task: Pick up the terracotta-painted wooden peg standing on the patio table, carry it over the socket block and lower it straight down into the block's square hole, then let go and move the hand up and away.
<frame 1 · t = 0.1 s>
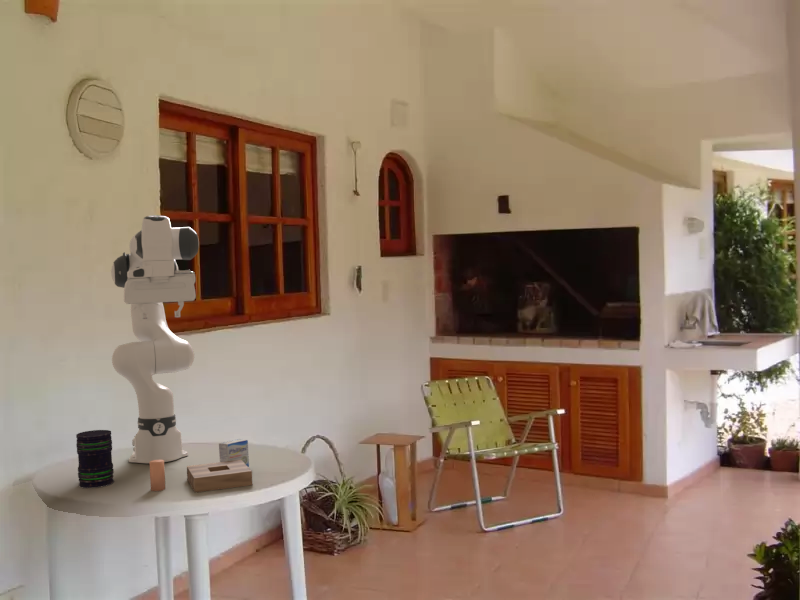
hand: (161, 318, 246), 48 cm above the table, fingers open, 8 cm apart
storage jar: (96, 484, 247), on the table
socket block: (219, 482, 243), on the table
medicine box: (234, 469, 259), on the table
peg: (158, 489, 238), on the table
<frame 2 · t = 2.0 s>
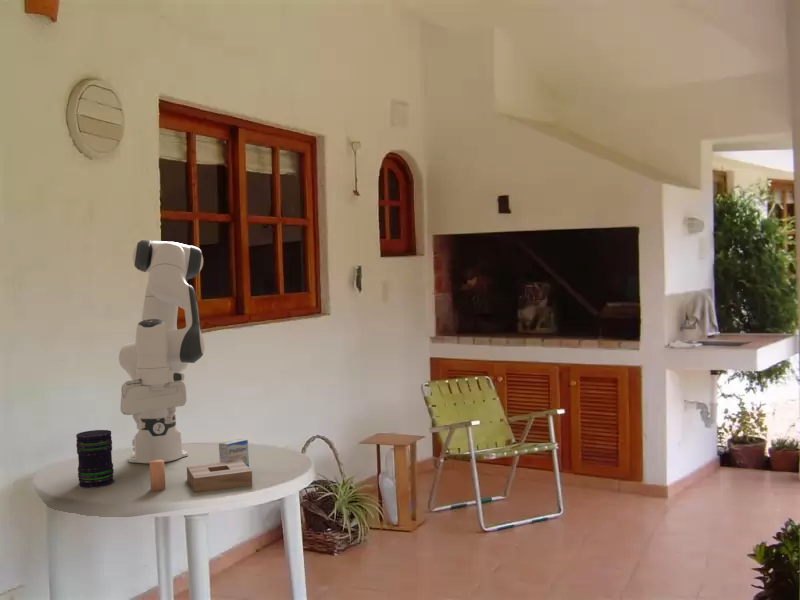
hand: (155, 426, 237), 18 cm above the table, fingers open, 8 cm apart
nothing on the table moved.
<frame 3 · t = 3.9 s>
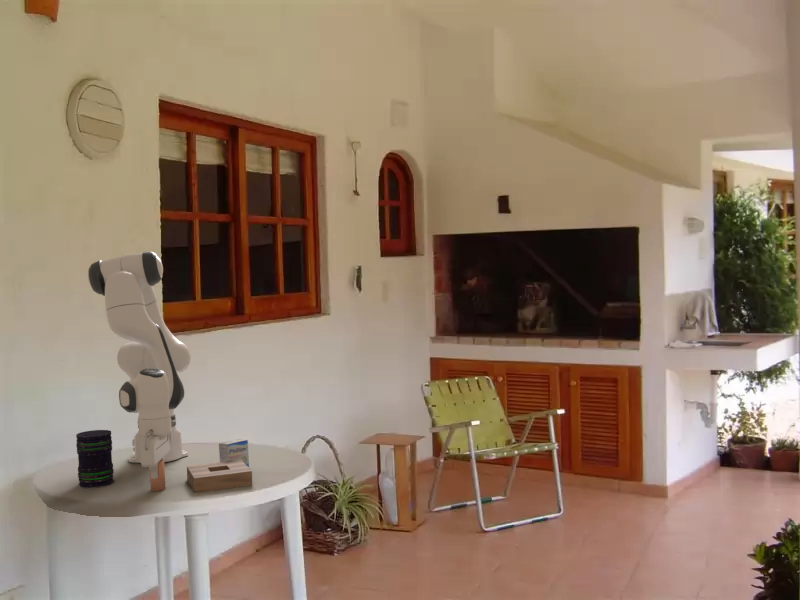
hand: (157, 475, 238), 4 cm above the table, fingers closed on peg, 4 cm apart
peg: (158, 489, 238), on the table, touching gripper
everything else where it was.
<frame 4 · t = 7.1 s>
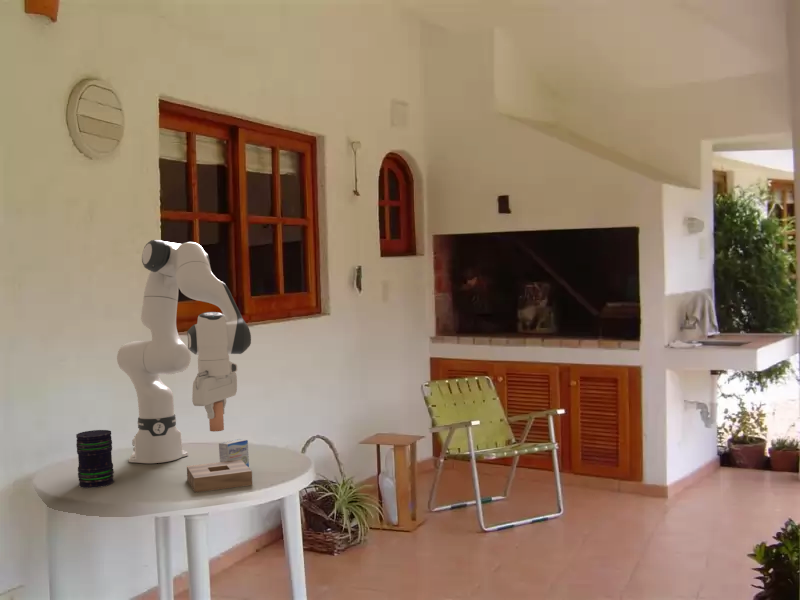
hand: (216, 416, 242), 19 cm above the table, fingers closed on peg, 4 cm apart
peg: (216, 430, 242), point 15 cm above the table, touching gripper
everything else where it was.
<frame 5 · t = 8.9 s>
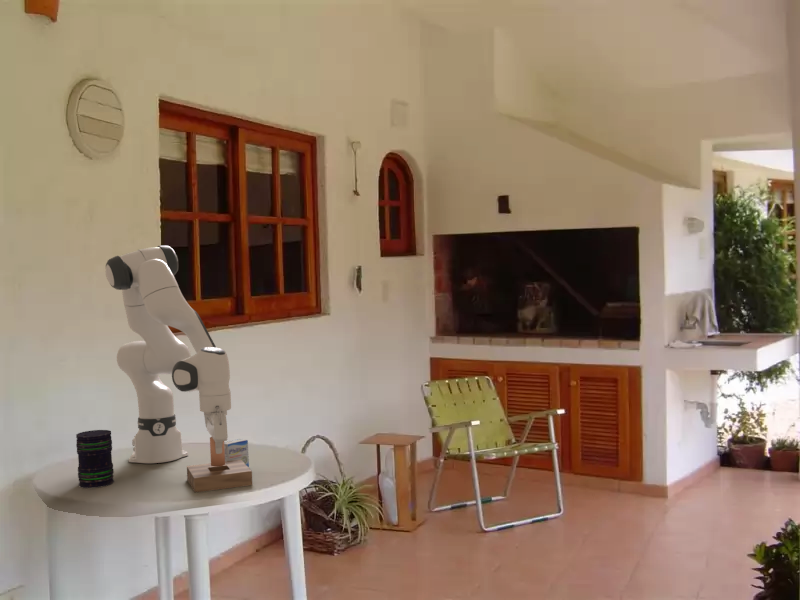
hand: (217, 451, 243), 9 cm above the table, fingers closed on peg, 4 cm apart
peg: (218, 464, 243), point 5 cm above the table, touching gripper
everything else where it was.
when the fingers open (5 cm above the table, at t = 10.4 s): peg drops 2 cm, resting in socket block.
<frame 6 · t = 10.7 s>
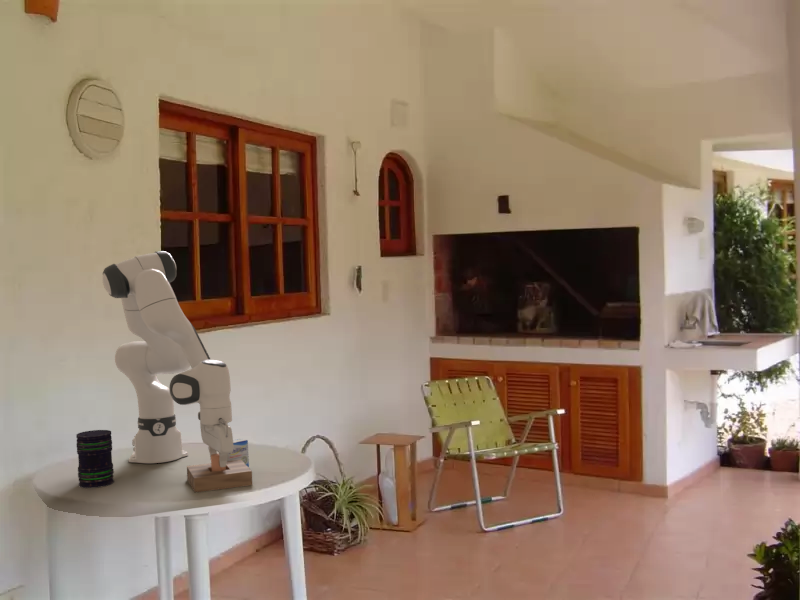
hand: (218, 463, 243), 5 cm above the table, fingers open, 7 cm apart
peg: (219, 482, 243), resting in socket block
everything else where it was.
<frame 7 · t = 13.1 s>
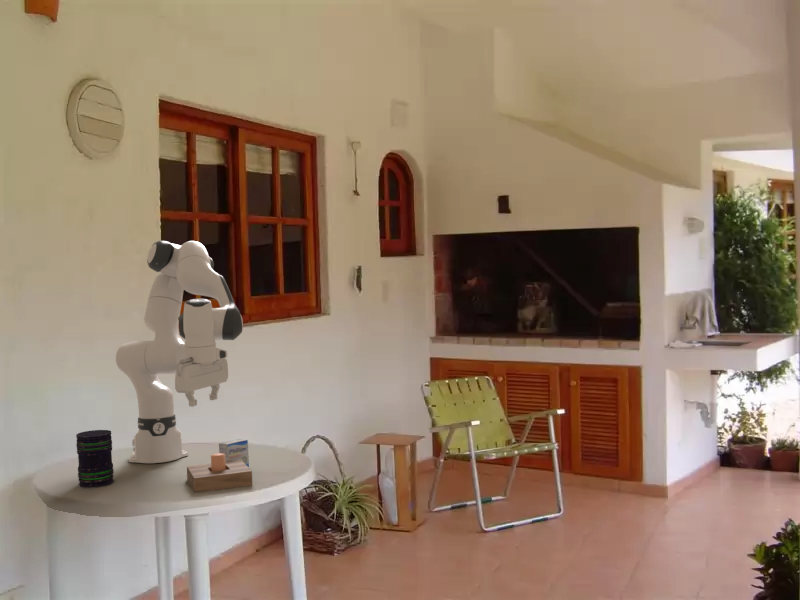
hand: (203, 402, 243), 23 cm above the table, fingers open, 8 cm apart
nothing on the table moved.
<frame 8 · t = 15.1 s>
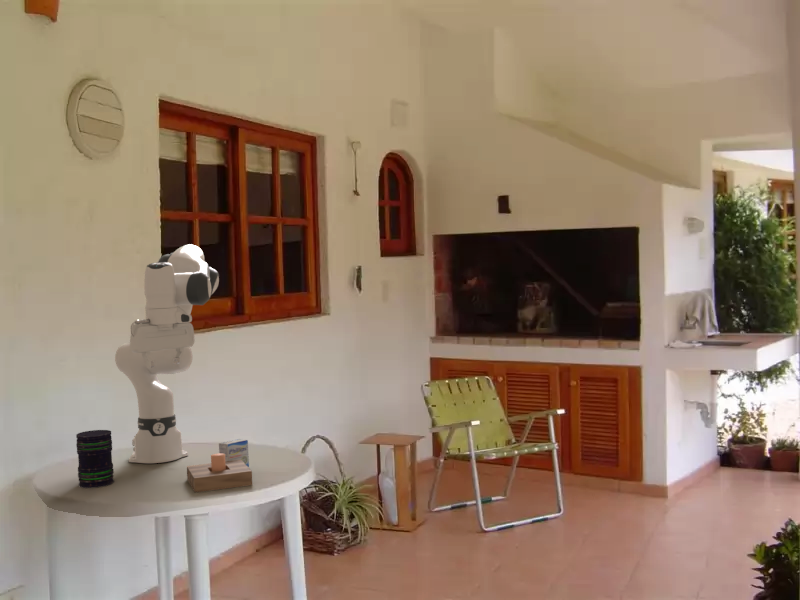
hand: (164, 365, 245), 34 cm above the table, fingers open, 8 cm apart
nothing on the table moved.
at the end: peg 0.1 cm off-centre on the socket block, point 0.0 cm above the socket block's base; peg tilted 0°; the gripper is holding nothing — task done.
